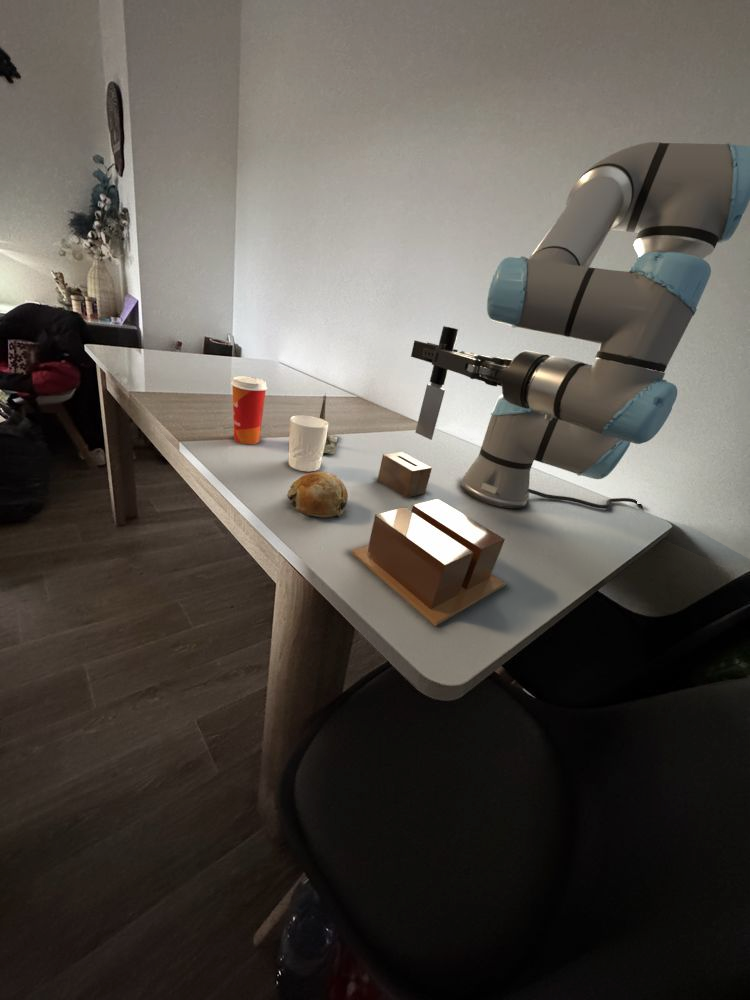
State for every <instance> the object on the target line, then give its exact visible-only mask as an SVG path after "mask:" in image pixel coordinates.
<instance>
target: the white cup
mask: <svg viewBox="0 0 750 1000" xmlns="http://www.w3.org/2000/svg"><path fill="white" fill-rule="evenodd" d="M329 426H330V425H329V422H328V421H326V419H325V420H323V419H320V418H319V417H316V416H312V415H302V414H301V415H299V414H298V415H293V416H291V417H290V418H289V435H288V436H289V437H288V439H289V440H288V453H289V454H288V465H289V466H290V467H291V468H292V469H294V470H297V471H301V472H307V473H310V472H317V471H318V470H320V468H321V465H322V464H321V463H322V460H323V459H322V458H323V455H324V453H323V451H324V446H325V442H326V436H327V432H329V431H328V430H329Z"/></svg>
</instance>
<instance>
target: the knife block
mask: <svg viewBox="0 0 750 1000" xmlns="http://www.w3.org/2000/svg"><path fill="white" fill-rule="evenodd" d="M380 461H381V462H380V467H379V471H378V476H377V481H379V482H380V483H382V484H384V485H385V486H387V487H388V488H390V489H391V490H393V491H394V492H395V493H398V494H399V495H401V496H403V497H404V498H406V499H407V498H412V497H415V496H419V495H423V494H426V491H427V488H428V483H429V479H430V477H431V473H432V469H433V467H432V466H430V465H427V464H426V463H424V462H422V461H420V460H419V459H416V458H415V457H413V456H411V455H409V454H407V453H405V452H403V451H400V452H392V453H391V452H390V453H382V457H381V460H380Z"/></svg>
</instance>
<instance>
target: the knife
mask: <svg viewBox="0 0 750 1000" xmlns="http://www.w3.org/2000/svg"><path fill="white" fill-rule="evenodd" d="M458 335H459V328H455V327H450V326H446V325H443V326H442V330H441V334H440V338H439V341H438V345H439V347H440V346H441V344H446V350H449V351H453V350H454V349H455V347H456V342H457V338H458ZM448 372H449V370H447V369H444V368H441V367H438V366H434V365H432V369H431V374H430V377H429V382H430V384H429V383H427V384H426V388H425V391H424V395H423V401H422V403H421V406H420V407H421V408H420V412H419V415H418V419H417V424H416V429H415V433H416V434H418V435H420V436H421V437H424V438H426V439H428V440H429V441H432V440H433V437H434V433H435V430H436V427H437V422H438V418H439V415H440V411H441V407H442V403H443V399H444V396H445V392H446V389H444V388H443V386H445V384H446V380H447V377H448Z"/></svg>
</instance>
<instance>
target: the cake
mask: <svg viewBox="0 0 750 1000" xmlns="http://www.w3.org/2000/svg"><path fill="white" fill-rule="evenodd" d="M505 539H506V538H504V537H503V536H501V535H500V534H498V533H496V532H494V531H493V530H491V529H489V528H487V527H486V526H484V525H483V524H482V523H479V522H477V521H475V520H474V519H472V518H470V517H469V516H467V515H466V514H464V513H462V512H461V511H460V510H457V509H456V508H454V507H452V506H450V505H449V504H447V503H446V502H444V501H442V500H440V499H438V498H436V499H432V500H427V501H424V502H419V503H415V504H413V505H412V506H411V510H409V509H408V508H407V507H400V508H396V509H392V510H388V511H385V512H381V513H376V514H374V518H373V524H372V528H371V532H370V537H369V541H368V545H364V546H362V547H359V548H358V547H357V548H355V549H352V551H351V554H352V555H353V556H354V557H355V558H356V559H357V560H359V561H360V562H361V563H362V564H363V565H364V566H365V567H366V568H368V569H369V570H370V571H371V572H372V573H373V574H375V575H376V576H377V577H378V578H379V579H380V580H382V581H383V582H384V583H385V584H386V585H387V586H389V587H390V588H391V589H392V590H393V591H394V592H395V593H396V594H398V596H400V597H401V598H403V599H404V600H405V601H406V602H407V604H409V605H411V606H412V607H413V608H414V609H415V610H416V611H417V612H419V614H421V615H422V616H423V617H424V618H425V619H426V620H428V622H430V623H431V624H433V626H435V627H438V625H440V624H442V623H444V622H445V621H447V620H449V619H450V618H452V617H454V616H456V615H457V614H459V613H461V612H462V611H464V610H466V609H467V608H469V607H471V606H472V605H474V604H477V603H478V602H480V601H481V600H482V599H485V598H487V597H488V596H489V595H491V594H493V593H495V592H497V591H498V590H500V589H501V588H503V587H505V582H504V581H502V580H501V579H500V578H498V577H497V576H495V575H494V574H493V571H494V568H495V565H496V564H497V561H498V558H499V556H500V553H501V551H502V548H503V546H504V544H505Z"/></svg>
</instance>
